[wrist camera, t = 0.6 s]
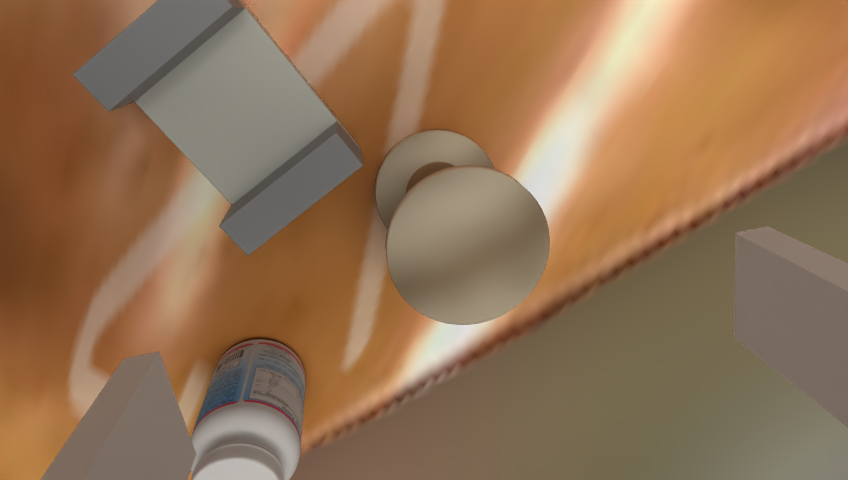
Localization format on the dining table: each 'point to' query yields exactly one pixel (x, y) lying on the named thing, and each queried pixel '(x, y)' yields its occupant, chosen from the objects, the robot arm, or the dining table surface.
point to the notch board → (228, 110)
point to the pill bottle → (251, 415)
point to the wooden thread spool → (458, 229)
